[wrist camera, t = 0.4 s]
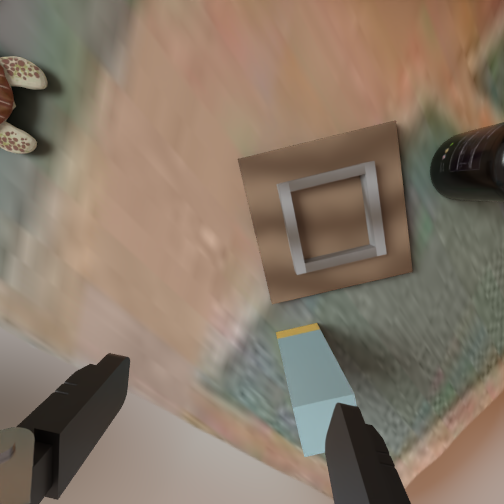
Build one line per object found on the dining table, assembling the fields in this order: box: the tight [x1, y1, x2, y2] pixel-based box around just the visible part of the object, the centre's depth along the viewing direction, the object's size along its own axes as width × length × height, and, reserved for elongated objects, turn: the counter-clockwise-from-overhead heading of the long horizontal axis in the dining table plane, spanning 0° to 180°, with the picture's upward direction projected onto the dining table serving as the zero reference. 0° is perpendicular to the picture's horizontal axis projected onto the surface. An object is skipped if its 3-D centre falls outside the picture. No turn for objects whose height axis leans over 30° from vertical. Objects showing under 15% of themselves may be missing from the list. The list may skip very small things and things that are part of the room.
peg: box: [276, 323, 356, 457], centre depth 29 cm, size 5×5×12 cm
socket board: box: [238, 121, 413, 304], centre depth 30 cm, size 16×16×3 cm
